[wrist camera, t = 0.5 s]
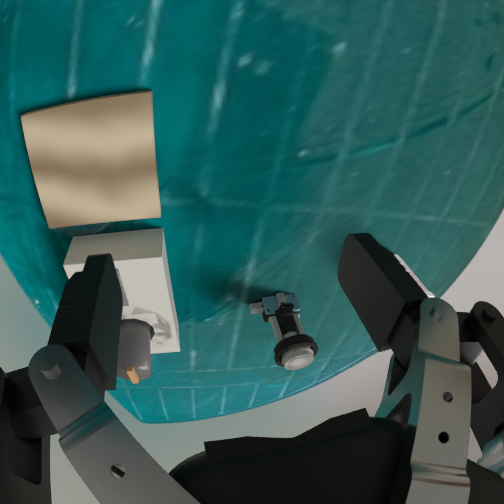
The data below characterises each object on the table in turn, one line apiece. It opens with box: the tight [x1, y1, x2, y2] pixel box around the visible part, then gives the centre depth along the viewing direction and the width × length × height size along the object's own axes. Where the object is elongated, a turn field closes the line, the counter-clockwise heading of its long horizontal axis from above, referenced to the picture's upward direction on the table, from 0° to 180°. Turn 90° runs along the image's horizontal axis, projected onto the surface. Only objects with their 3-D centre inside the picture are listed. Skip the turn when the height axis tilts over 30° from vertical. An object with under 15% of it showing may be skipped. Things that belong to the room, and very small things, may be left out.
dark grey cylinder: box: [117, 318, 151, 383], centre depth 33 cm, size 4×4×11 cm
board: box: [21, 90, 161, 229], centre depth 24 cm, size 12×12×1 cm
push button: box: [249, 293, 318, 370], centre depth 38 cm, size 7×5×10 cm
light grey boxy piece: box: [63, 228, 180, 354], centre depth 33 cm, size 16×10×5 cm, turn 176°
